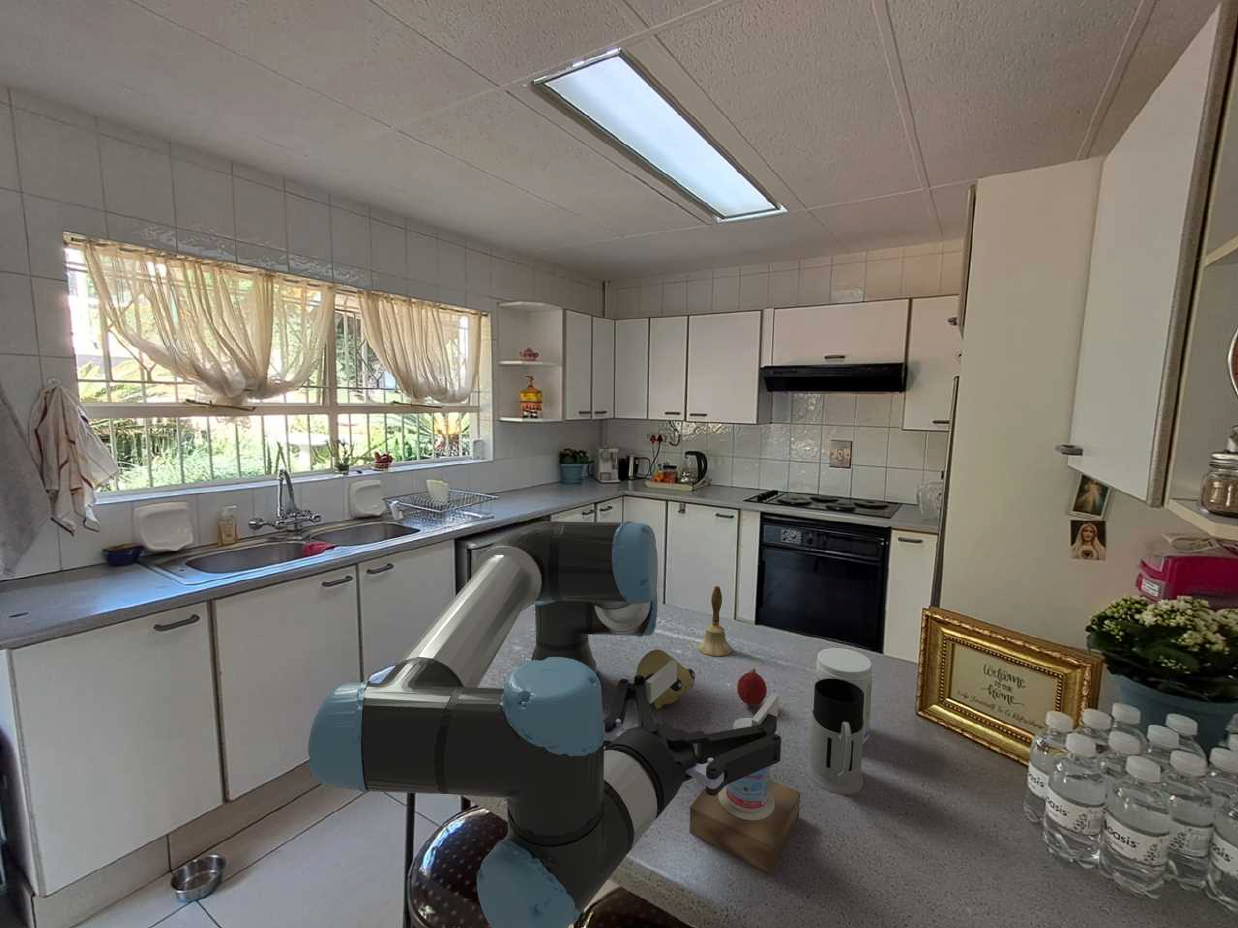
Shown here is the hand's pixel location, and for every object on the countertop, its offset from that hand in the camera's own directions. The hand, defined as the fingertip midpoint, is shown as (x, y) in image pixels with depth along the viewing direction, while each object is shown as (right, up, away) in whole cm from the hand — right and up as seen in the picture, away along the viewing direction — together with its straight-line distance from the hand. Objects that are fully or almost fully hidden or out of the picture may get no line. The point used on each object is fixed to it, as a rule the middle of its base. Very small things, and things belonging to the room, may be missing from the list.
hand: (722, 685), depth 69 cm
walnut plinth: (+6, -25, +12) cm, 28 cm away
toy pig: (-4, -21, +43) cm, 48 cm away
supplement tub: (+28, -23, +33) cm, 49 cm away
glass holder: (+22, -24, +19) cm, 38 cm away
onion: (+14, -21, +42) cm, 49 cm away
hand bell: (+11, -18, +67) cm, 71 cm away
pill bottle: (+6, -21, +11) cm, 24 cm away
